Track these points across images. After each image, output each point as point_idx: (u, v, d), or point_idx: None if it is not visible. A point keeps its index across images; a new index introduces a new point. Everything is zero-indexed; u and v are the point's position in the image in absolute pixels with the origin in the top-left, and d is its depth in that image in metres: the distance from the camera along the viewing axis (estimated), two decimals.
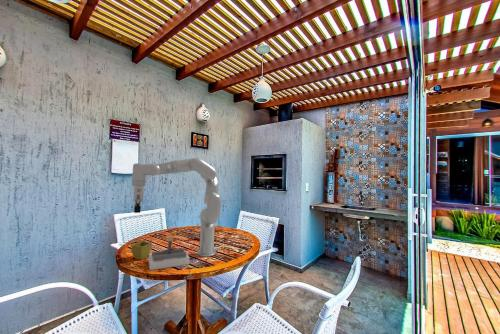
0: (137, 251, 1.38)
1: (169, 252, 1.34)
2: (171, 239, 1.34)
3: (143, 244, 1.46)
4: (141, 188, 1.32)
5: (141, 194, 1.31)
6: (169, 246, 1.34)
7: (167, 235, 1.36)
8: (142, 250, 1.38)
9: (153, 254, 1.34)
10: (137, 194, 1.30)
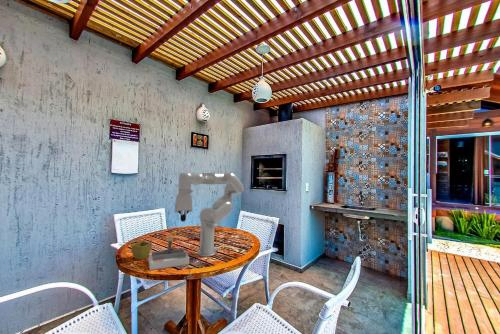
0: (137, 251, 1.38)
1: (169, 252, 1.34)
2: (171, 239, 1.34)
3: (143, 244, 1.46)
4: None
5: None
6: (169, 246, 1.34)
7: (167, 235, 1.36)
8: (142, 250, 1.38)
9: (153, 254, 1.34)
10: None
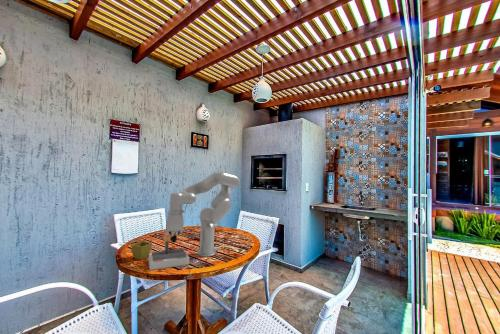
0: (137, 251, 1.38)
1: (166, 252, 1.34)
2: (168, 239, 1.33)
3: (143, 244, 1.46)
4: None
5: None
6: (166, 246, 1.34)
7: (164, 235, 1.36)
8: (142, 250, 1.38)
9: (153, 254, 1.34)
10: None
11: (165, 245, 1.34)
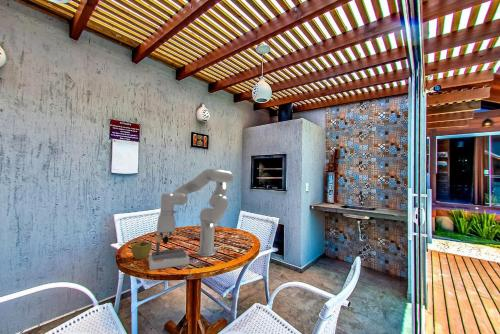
0: (137, 251, 1.38)
1: (157, 253, 1.31)
2: (159, 240, 1.30)
3: (143, 244, 1.46)
4: None
5: None
6: (157, 247, 1.31)
7: (155, 236, 1.33)
8: (142, 250, 1.38)
9: None
10: None
11: (156, 246, 1.32)
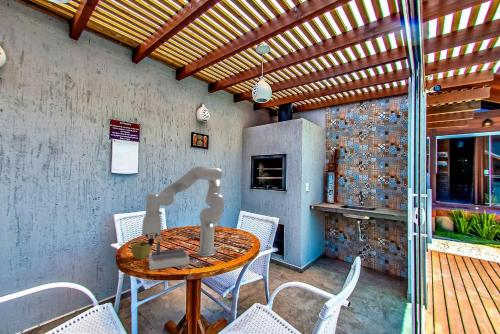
0: (137, 251, 1.38)
1: (158, 253, 1.31)
2: (160, 240, 1.31)
3: (143, 244, 1.46)
4: None
5: None
6: (158, 247, 1.31)
7: (156, 236, 1.34)
8: (142, 250, 1.38)
9: (153, 254, 1.34)
10: None
11: (157, 246, 1.32)
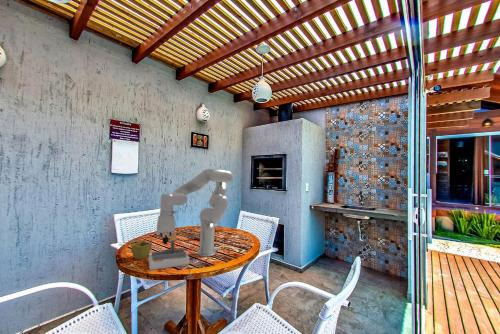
0: (137, 251, 1.38)
1: (172, 252, 1.35)
2: (174, 239, 1.34)
3: (143, 244, 1.46)
4: None
5: None
6: (172, 246, 1.35)
7: (170, 235, 1.37)
8: (142, 250, 1.38)
9: (153, 254, 1.34)
10: None
11: (171, 244, 1.36)
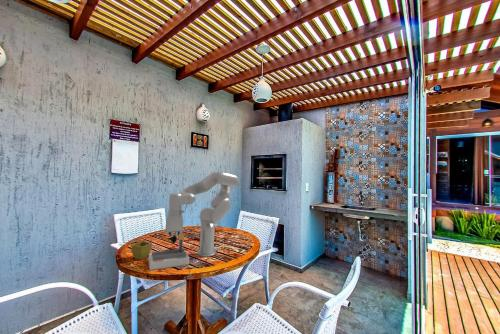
0: (137, 251, 1.38)
1: (180, 251, 1.37)
2: (182, 238, 1.37)
3: (143, 244, 1.46)
4: None
5: None
6: (180, 245, 1.38)
7: (178, 234, 1.40)
8: (142, 250, 1.38)
9: (153, 254, 1.34)
10: None
11: (179, 243, 1.38)
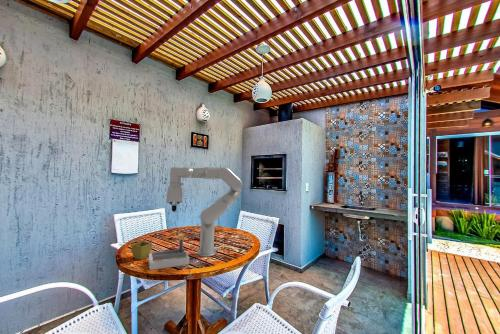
0: (137, 251, 1.38)
1: (180, 251, 1.37)
2: (182, 238, 1.37)
3: (143, 244, 1.46)
4: None
5: None
6: (180, 245, 1.38)
7: (178, 234, 1.40)
8: (142, 250, 1.38)
9: (153, 254, 1.34)
10: None
11: (179, 243, 1.38)
